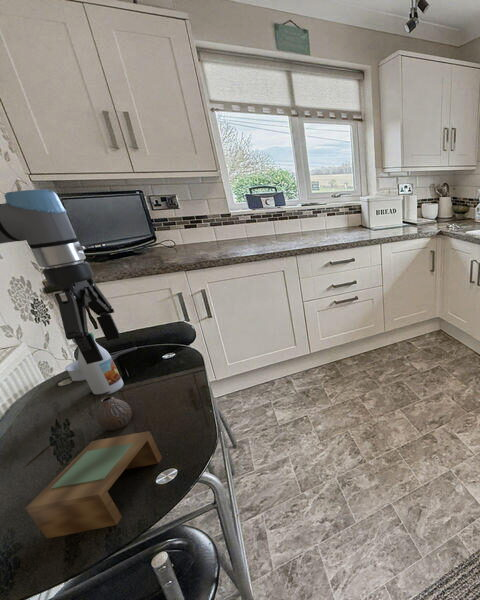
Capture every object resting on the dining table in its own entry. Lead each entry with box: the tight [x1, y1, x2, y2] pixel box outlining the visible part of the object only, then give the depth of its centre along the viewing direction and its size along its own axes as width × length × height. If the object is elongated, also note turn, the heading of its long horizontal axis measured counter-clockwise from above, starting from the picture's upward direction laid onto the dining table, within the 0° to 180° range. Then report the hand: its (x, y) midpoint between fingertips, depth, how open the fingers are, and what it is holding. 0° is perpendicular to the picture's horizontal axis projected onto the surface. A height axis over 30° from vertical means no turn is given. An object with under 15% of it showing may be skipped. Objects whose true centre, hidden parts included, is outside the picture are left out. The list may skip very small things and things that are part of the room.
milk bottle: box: [72, 332, 124, 396], centre depth 103 cm, size 8×8×20 cm
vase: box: [96, 395, 133, 431], centre depth 87 cm, size 7×7×9 cm
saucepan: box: [64, 346, 137, 382], centre depth 119 cm, size 12×20×6 cm, turn 126°
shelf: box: [24, 430, 163, 540], centre depth 67 cm, size 12×16×8 cm
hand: (105, 349), depth 79 cm, fingers open, 13 cm apart
